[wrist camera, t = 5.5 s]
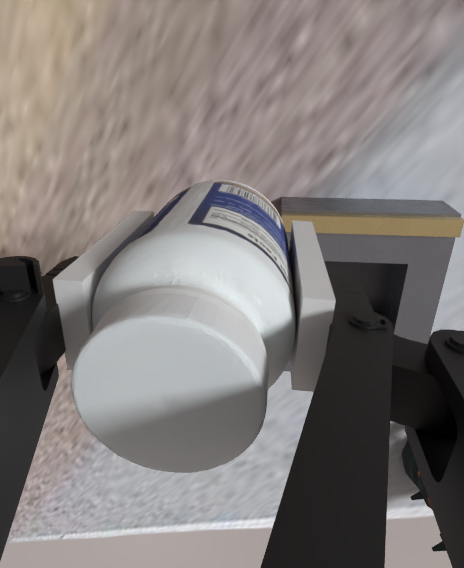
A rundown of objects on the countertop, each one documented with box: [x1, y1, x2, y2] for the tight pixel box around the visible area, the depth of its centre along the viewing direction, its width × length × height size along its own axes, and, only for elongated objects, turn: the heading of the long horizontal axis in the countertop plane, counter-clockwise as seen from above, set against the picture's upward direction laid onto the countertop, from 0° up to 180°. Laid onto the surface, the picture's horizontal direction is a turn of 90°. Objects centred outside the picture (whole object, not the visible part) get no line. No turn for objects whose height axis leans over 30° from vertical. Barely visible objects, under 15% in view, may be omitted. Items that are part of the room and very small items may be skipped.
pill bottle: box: [71, 179, 296, 473], centre depth 12 cm, size 5×5×10 cm
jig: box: [280, 197, 464, 371], centre depth 32 cm, size 14×12×4 cm
